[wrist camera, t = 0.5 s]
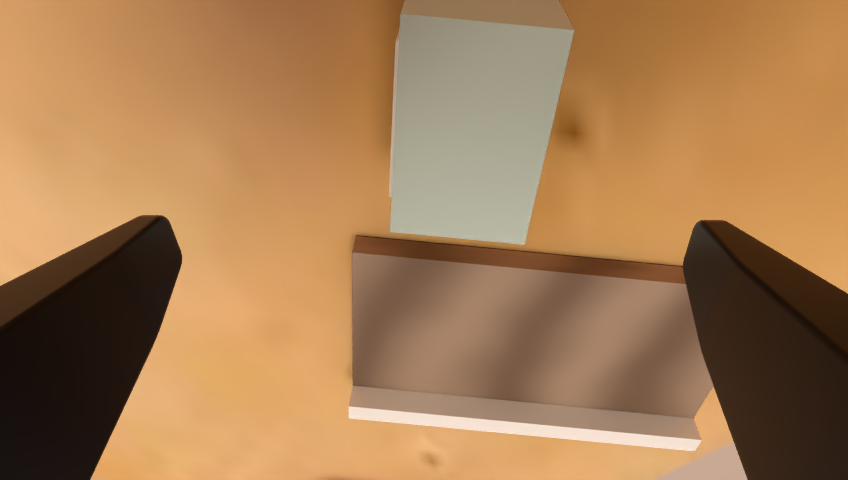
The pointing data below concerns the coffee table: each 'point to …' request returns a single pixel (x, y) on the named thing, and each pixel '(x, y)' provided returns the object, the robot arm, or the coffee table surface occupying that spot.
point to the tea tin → (473, 114)
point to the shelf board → (525, 327)
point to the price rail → (524, 418)
